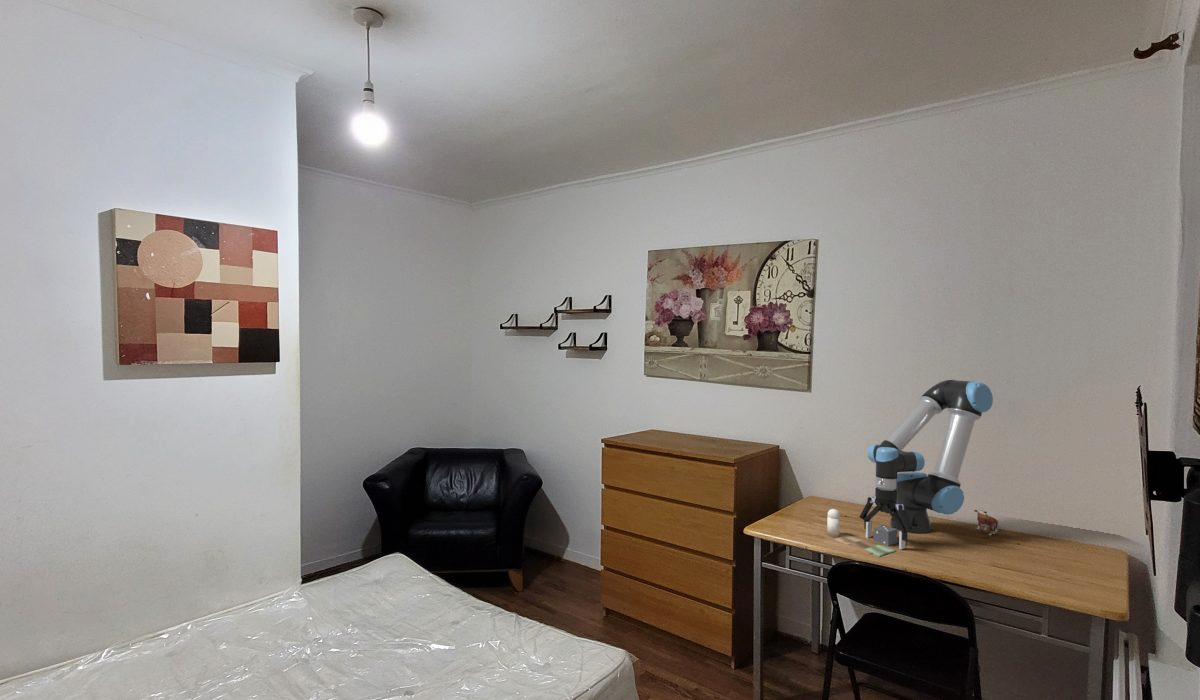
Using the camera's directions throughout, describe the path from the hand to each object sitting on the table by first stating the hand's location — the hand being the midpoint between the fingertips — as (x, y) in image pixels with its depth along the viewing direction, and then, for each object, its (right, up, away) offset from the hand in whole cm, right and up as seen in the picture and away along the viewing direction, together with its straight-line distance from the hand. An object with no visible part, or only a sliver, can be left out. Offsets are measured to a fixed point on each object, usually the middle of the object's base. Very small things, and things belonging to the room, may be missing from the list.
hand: (884, 543), depth 228 cm
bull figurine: (+49, -1, +16) cm, 52 cm away
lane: (-11, 0, 0) cm, 11 cm away
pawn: (-17, +1, +8) cm, 19 cm away
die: (0, 0, 0) cm, 0 cm away
